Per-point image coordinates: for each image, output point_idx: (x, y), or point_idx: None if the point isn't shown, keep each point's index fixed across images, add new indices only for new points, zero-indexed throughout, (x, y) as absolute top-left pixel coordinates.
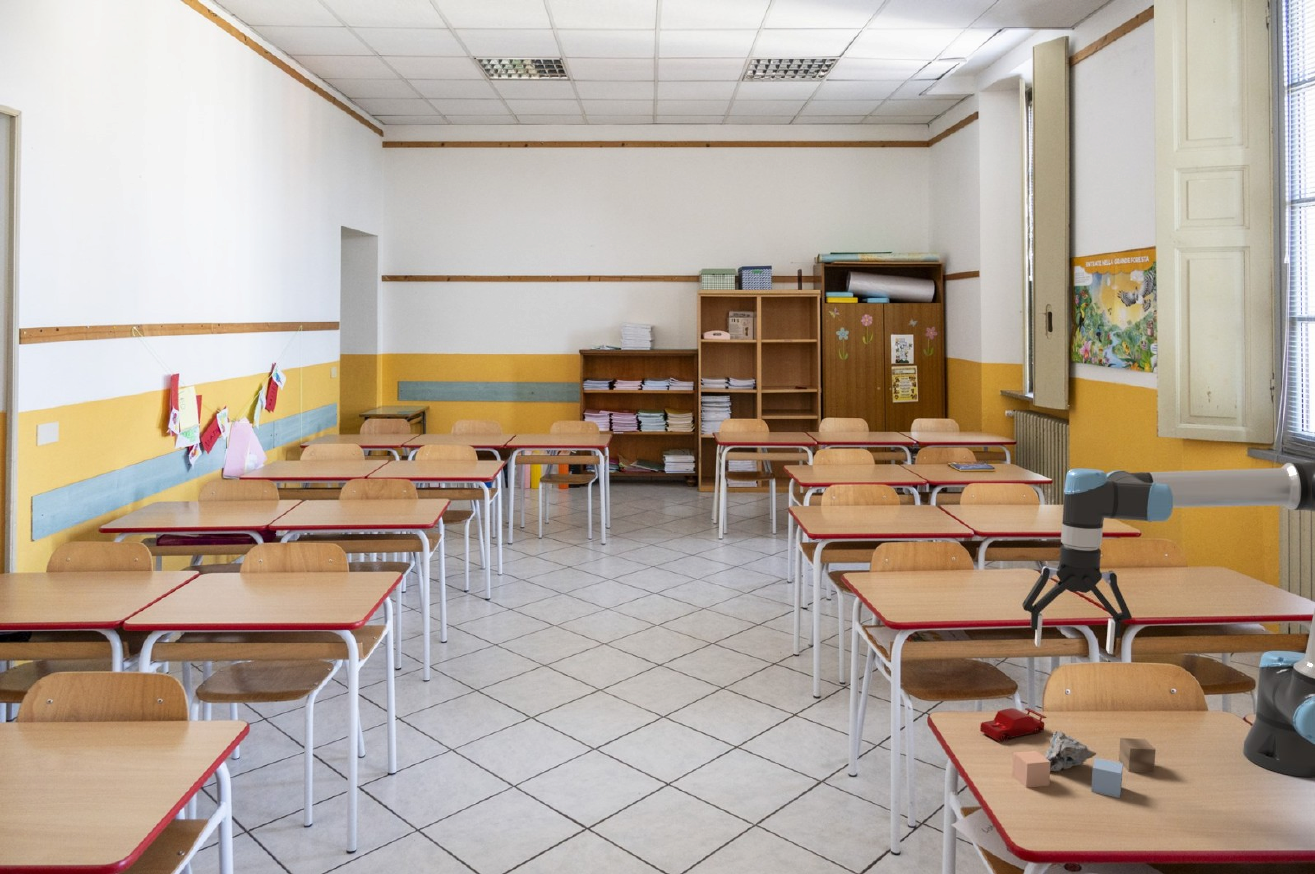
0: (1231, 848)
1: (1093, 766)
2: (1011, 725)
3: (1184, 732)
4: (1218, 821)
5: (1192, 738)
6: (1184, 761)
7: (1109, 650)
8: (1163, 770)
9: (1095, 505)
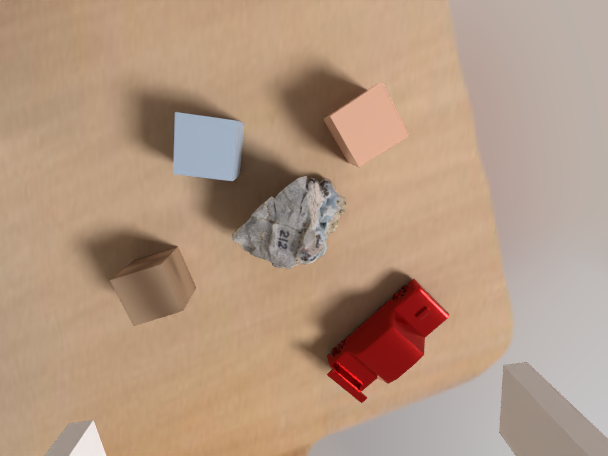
0: None
1: (236, 128)
2: (395, 315)
3: None
4: (4, 79)
5: None
6: (83, 329)
7: (76, 439)
8: None
9: None
